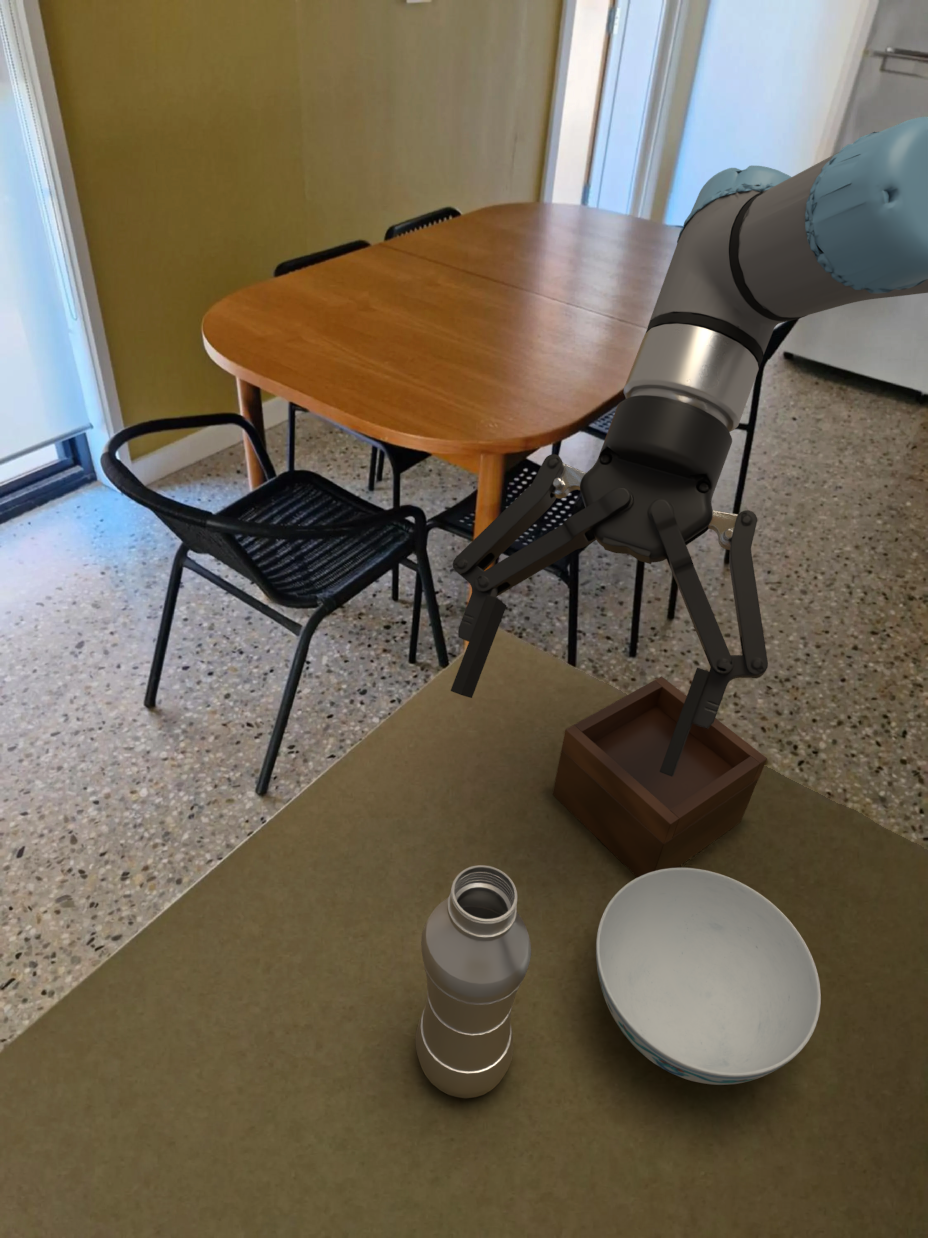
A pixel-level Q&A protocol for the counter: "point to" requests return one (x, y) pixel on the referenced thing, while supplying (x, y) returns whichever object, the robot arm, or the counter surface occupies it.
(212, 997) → the counter surface
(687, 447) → the robot arm
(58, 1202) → the counter surface
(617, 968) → the chinaware
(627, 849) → the walnut box
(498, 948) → the metal bottle
